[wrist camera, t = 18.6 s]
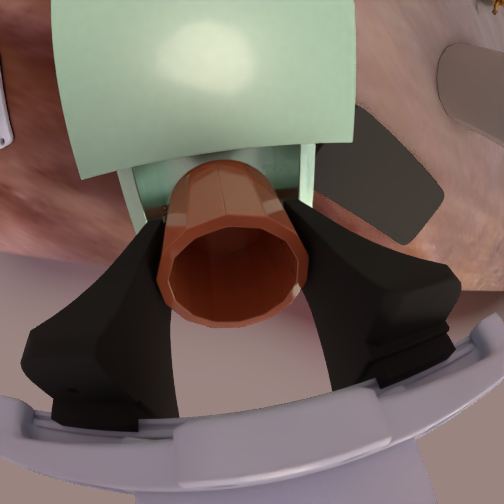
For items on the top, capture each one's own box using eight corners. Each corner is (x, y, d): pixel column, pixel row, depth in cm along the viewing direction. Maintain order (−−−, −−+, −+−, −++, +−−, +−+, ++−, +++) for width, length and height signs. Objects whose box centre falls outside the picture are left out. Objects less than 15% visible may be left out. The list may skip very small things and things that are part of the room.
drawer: (289, 254, 24) (313, 310, 19) (168, 273, 23) (164, 334, 18) (289, 55, 14) (333, 54, 9) (120, 77, 13) (80, 86, 8)
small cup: (180, 260, 13) (179, 336, 10) (157, 168, 10) (137, 229, 7) (276, 246, 14) (303, 316, 10) (275, 151, 11) (314, 203, 7)
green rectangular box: (295, 109, 17) (353, 142, 11) (124, 132, 16) (80, 180, 10) (287, -49, 9) (339, -97, 3) (107, -29, 8) (56, -68, 2)
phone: (354, 99, 16) (447, 195, 22) (349, 97, 17) (442, 191, 23) (297, 181, 20) (405, 248, 26) (294, 176, 20) (401, 244, 27)
